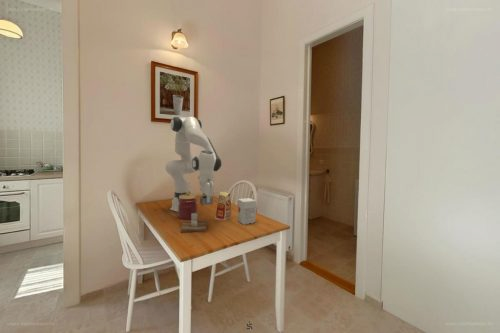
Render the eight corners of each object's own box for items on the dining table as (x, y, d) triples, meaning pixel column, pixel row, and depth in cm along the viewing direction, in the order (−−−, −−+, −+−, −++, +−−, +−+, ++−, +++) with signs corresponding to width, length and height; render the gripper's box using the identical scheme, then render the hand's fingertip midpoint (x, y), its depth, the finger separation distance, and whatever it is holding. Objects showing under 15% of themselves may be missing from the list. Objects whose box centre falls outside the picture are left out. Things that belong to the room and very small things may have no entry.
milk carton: (214, 219, 149) (215, 190, 148) (222, 215, 158) (222, 188, 156) (226, 221, 146) (226, 191, 144) (233, 217, 154) (233, 189, 153)
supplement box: (237, 220, 146) (237, 198, 145) (249, 219, 150) (249, 197, 149) (243, 225, 138) (243, 201, 137) (255, 223, 142) (256, 200, 141)
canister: (194, 220, 146) (194, 194, 145) (175, 219, 147) (175, 193, 145) (199, 214, 159) (199, 190, 158) (181, 214, 160) (181, 190, 158)
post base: (183, 224, 137) (183, 211, 137) (206, 223, 140) (206, 210, 139) (180, 232, 123) (180, 217, 123) (206, 231, 126) (206, 217, 125)
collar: (199, 202, 133) (199, 196, 133) (210, 201, 136) (210, 195, 136) (202, 205, 128) (202, 198, 127) (212, 204, 130) (213, 197, 130)
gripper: (216, 180, 123) (216, 204, 124) (207, 175, 141) (207, 196, 142) (205, 180, 120) (205, 205, 121) (197, 176, 138) (197, 197, 139)
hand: (206, 200), depth 132 cm, fingers closed on collar, 6 cm apart
